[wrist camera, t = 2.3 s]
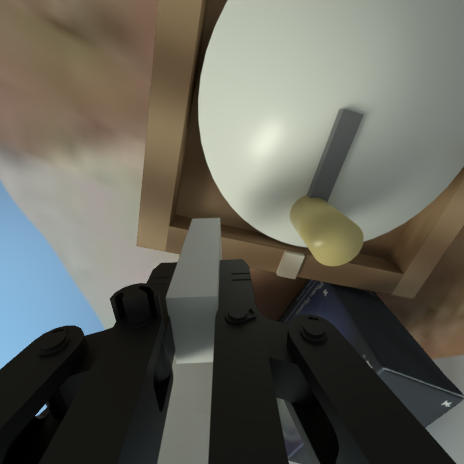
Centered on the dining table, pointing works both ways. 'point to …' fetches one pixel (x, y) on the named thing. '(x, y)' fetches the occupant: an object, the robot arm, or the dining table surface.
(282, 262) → the housing
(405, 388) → the small box
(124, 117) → the dining table surface
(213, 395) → the robot arm
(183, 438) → the foam cup
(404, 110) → the dial
